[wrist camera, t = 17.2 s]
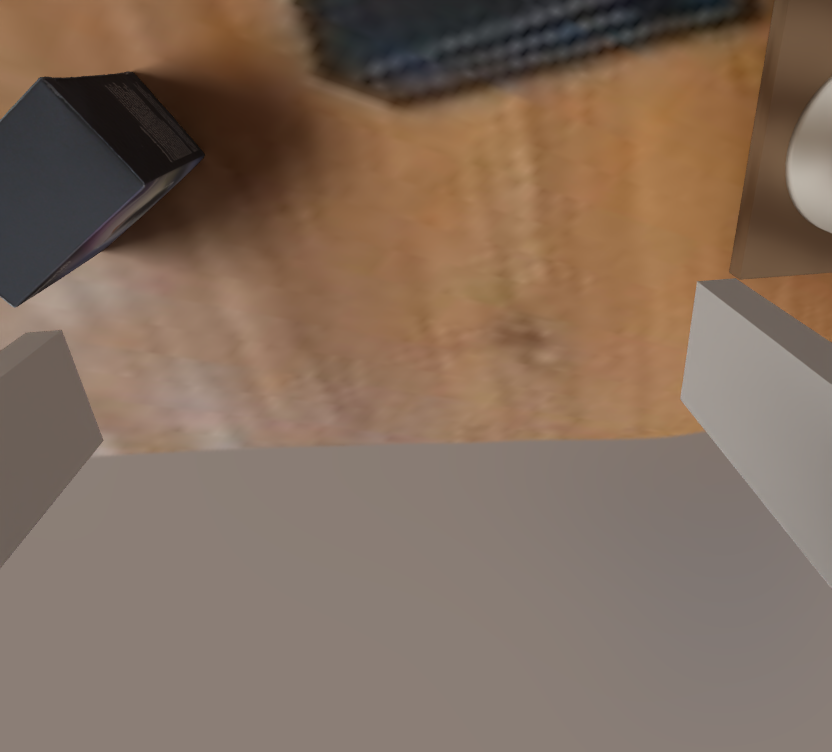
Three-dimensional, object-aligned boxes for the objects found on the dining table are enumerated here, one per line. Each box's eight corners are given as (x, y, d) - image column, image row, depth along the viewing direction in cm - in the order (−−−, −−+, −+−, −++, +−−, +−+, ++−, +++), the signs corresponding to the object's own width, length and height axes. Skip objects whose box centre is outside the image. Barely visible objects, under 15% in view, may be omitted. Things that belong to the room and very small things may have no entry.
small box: (103, 258, 41) (13, 317, 32) (21, 180, 39) (-102, 218, 29) (212, 158, 38) (149, 190, 29) (131, 66, 36) (33, 69, 26)
